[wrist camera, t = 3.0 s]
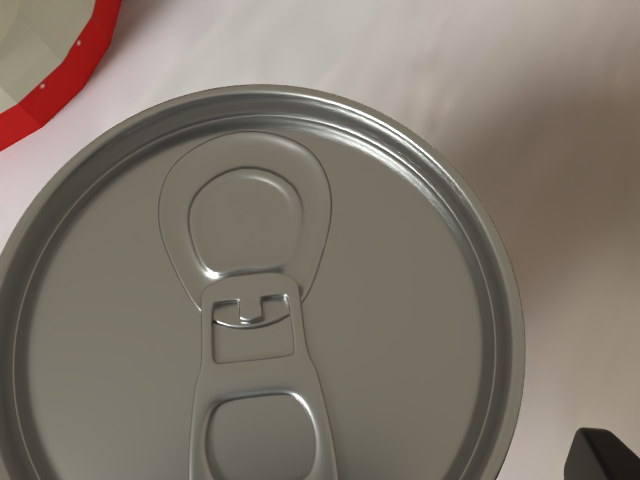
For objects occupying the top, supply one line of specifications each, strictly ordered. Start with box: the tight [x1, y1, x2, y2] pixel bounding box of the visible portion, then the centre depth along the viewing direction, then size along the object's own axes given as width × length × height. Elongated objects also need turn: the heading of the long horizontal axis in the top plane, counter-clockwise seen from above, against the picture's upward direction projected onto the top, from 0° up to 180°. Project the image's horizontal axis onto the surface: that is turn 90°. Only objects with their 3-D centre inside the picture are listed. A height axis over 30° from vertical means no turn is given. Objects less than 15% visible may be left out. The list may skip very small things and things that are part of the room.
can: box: [0, 84, 526, 480], centre depth 12 cm, size 6×6×12 cm
